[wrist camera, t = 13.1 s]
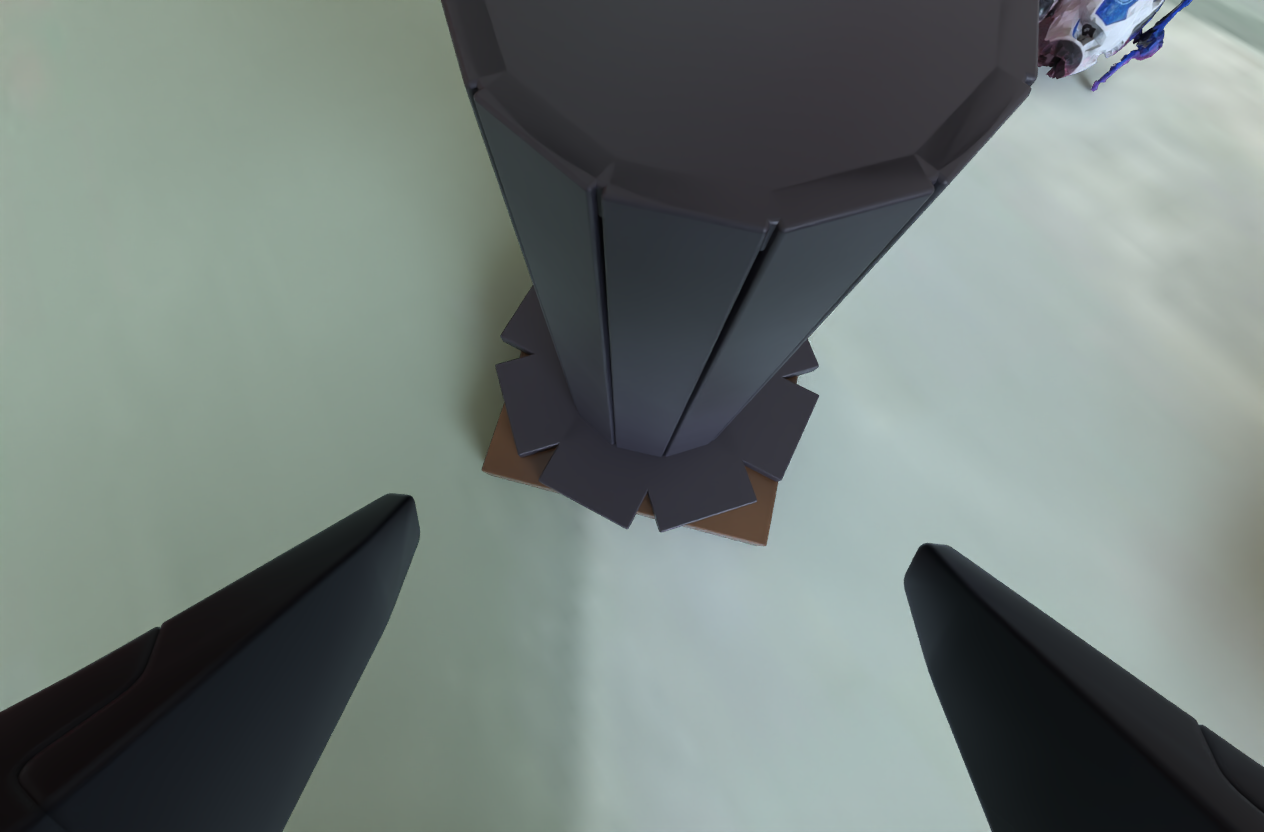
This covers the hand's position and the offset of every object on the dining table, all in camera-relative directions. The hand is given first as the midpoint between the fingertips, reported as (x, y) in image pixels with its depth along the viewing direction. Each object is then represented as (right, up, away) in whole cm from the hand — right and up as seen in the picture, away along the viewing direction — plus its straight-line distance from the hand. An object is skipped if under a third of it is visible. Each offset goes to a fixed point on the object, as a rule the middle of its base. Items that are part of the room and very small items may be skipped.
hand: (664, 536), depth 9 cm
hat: (0, +4, +9) cm, 10 cm away
